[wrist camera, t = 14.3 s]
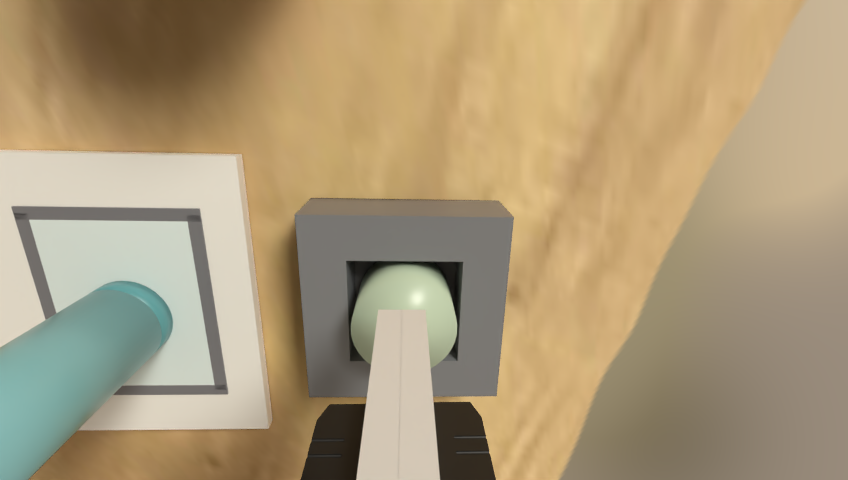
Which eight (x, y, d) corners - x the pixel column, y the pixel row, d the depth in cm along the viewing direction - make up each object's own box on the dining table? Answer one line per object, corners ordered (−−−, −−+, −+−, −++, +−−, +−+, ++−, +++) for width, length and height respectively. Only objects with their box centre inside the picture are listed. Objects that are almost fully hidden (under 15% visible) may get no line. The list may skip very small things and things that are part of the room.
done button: (358, 252, 19) (348, 281, 16) (451, 253, 19) (459, 281, 16) (360, 334, 21) (352, 375, 18) (447, 334, 21) (454, 374, 18)
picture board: (-57, 148, 18) (-77, 150, 18) (241, 154, 19) (234, 156, 18) (36, 421, 23) (24, 432, 22) (272, 419, 24) (268, 429, 23)
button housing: (311, 197, 20) (294, 214, 17) (498, 200, 20) (513, 217, 17) (321, 359, 22) (309, 397, 20) (485, 359, 23) (496, 396, 20)
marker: (77, 279, 20) (-393, 535, 8) (166, 279, 20) (-173, 530, 8) (98, 353, 21) (-282, 664, 9) (180, 353, 21) (-94, 658, 10)
